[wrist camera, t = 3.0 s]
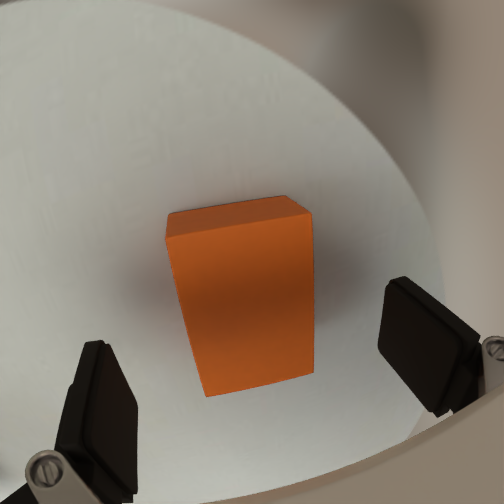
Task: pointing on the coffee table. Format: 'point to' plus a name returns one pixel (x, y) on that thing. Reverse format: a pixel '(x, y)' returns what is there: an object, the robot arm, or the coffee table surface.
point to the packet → (245, 291)
